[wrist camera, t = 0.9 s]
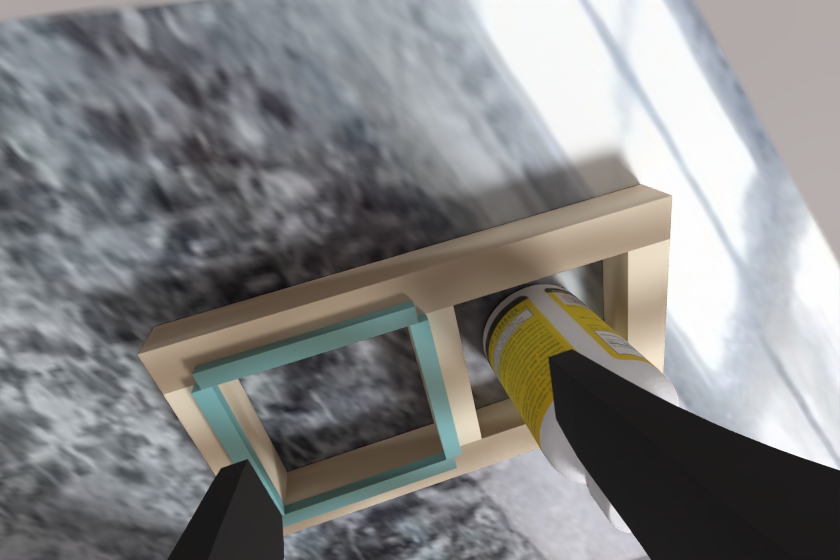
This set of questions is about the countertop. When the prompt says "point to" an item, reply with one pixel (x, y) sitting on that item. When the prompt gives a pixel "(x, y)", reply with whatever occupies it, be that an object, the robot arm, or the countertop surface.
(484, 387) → the countertop surface
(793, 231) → the countertop surface
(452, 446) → the panel
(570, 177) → the countertop surface
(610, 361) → the supplement bottle
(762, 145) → the countertop surface
